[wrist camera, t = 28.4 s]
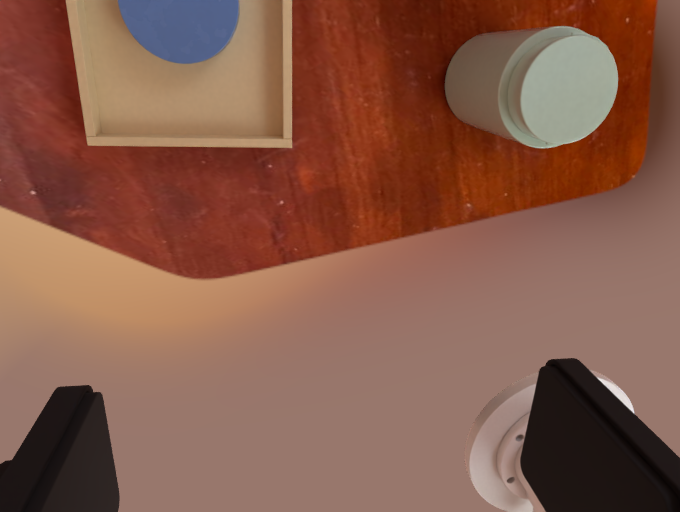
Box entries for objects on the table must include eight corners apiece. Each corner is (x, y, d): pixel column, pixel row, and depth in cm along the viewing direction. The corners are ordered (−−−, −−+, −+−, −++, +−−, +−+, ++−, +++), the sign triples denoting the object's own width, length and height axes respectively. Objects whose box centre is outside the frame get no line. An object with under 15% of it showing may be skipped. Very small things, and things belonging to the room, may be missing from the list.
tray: (290, 143, 36) (292, 147, 34) (96, 140, 34) (87, 145, 32) (289, -150, 30) (291, -164, 28) (52, -173, 28) (36, -189, 26)
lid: (155, -89, 30) (148, -98, 28) (260, -16, 32) (260, -20, 30) (106, 22, 31) (97, 20, 30) (208, 84, 33) (205, 86, 32)
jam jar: (522, 128, 38) (611, 154, 29) (439, 127, 37) (502, 153, 28) (538, 34, 36) (641, 27, 26) (450, 30, 35) (522, 21, 25)
